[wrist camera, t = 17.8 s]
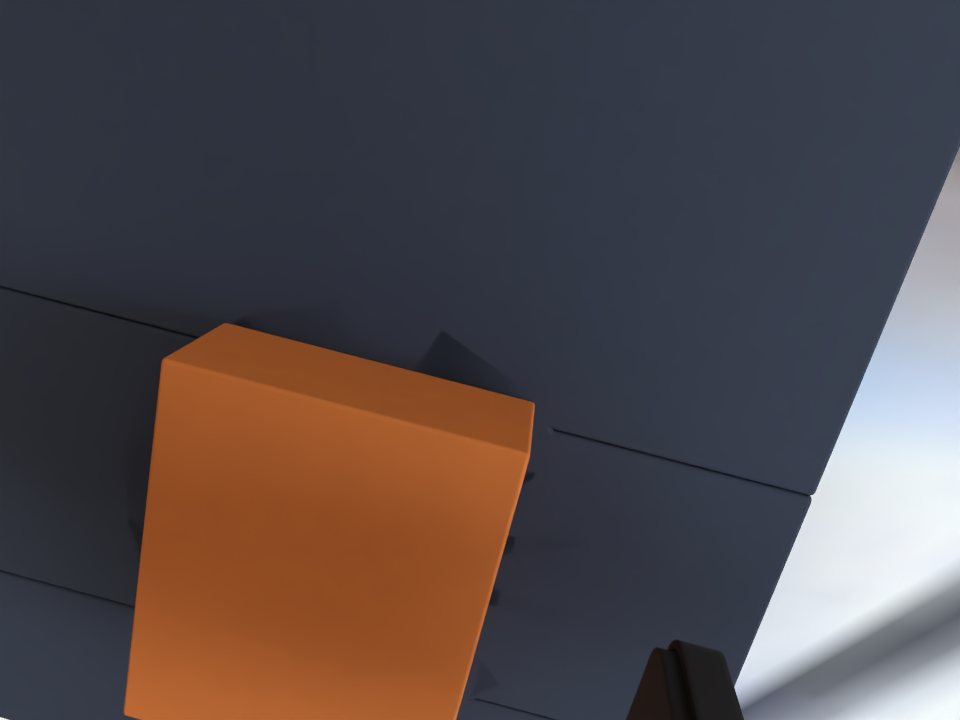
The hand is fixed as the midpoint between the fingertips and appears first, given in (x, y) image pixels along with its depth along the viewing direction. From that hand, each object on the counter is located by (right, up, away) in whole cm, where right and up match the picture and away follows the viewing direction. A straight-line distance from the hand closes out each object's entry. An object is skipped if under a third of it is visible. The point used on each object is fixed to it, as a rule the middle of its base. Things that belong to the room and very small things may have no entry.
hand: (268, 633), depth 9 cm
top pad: (+1, +1, +6) cm, 6 cm away
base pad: (+1, +4, +5) cm, 6 cm away
